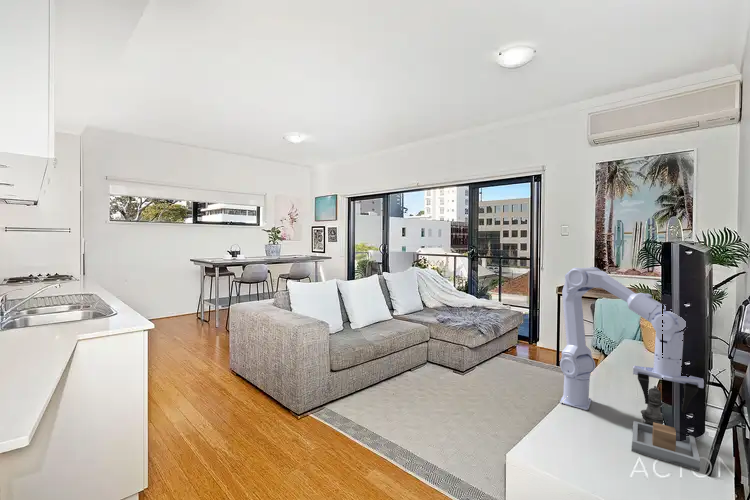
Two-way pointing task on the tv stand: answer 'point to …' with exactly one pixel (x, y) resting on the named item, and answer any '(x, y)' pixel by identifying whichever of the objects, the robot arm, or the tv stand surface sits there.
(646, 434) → the tray
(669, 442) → the block
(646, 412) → the dark grey turned piece
